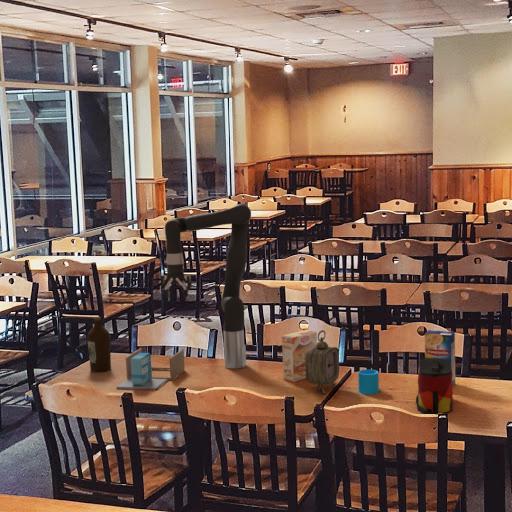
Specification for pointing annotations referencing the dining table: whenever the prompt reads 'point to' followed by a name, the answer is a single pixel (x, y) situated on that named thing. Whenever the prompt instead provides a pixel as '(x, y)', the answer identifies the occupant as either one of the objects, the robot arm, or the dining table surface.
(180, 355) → the bookend rack
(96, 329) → the olive oil
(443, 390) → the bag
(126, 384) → the board
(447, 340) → the beverage box
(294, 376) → the coffeecake box
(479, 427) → the dining table surface
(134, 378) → the data package
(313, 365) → the tabletop clock
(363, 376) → the mug
